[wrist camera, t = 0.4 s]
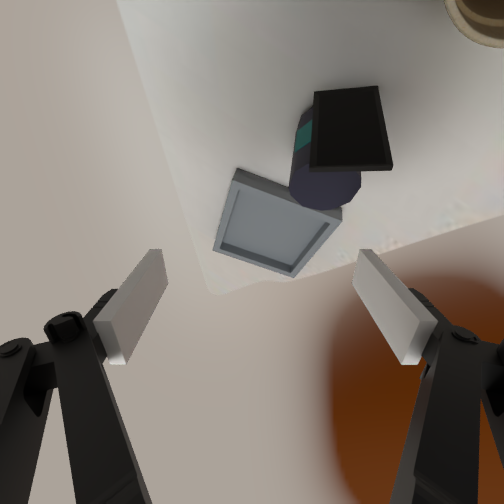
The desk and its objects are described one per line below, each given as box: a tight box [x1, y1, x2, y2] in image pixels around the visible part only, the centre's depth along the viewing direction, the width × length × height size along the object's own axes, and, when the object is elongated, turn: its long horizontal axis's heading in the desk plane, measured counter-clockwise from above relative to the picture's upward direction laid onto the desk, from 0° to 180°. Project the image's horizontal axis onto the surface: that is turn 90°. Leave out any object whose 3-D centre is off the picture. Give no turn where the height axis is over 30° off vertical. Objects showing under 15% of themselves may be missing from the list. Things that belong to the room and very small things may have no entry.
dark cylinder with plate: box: [289, 86, 393, 211], centre depth 21 cm, size 8×6×10 cm
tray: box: [213, 168, 342, 278], centre depth 35 cm, size 14×14×2 cm
